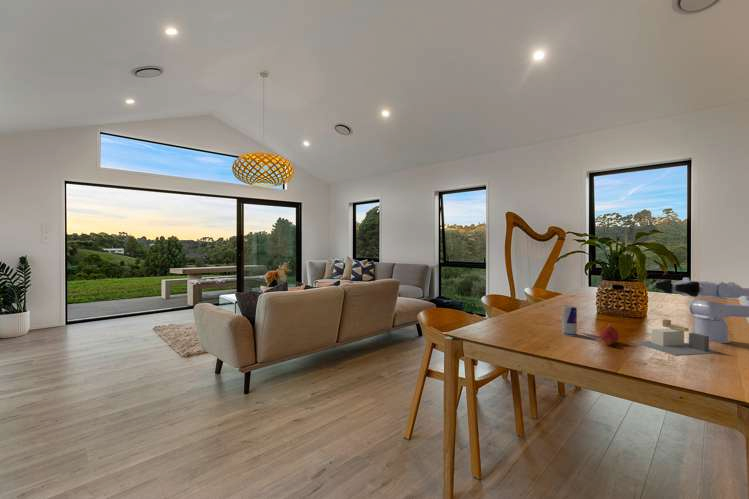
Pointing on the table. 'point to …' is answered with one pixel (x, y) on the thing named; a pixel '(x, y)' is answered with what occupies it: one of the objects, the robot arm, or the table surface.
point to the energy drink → (569, 320)
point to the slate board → (683, 346)
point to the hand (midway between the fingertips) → (666, 286)
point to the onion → (609, 335)
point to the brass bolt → (668, 324)
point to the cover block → (667, 336)
